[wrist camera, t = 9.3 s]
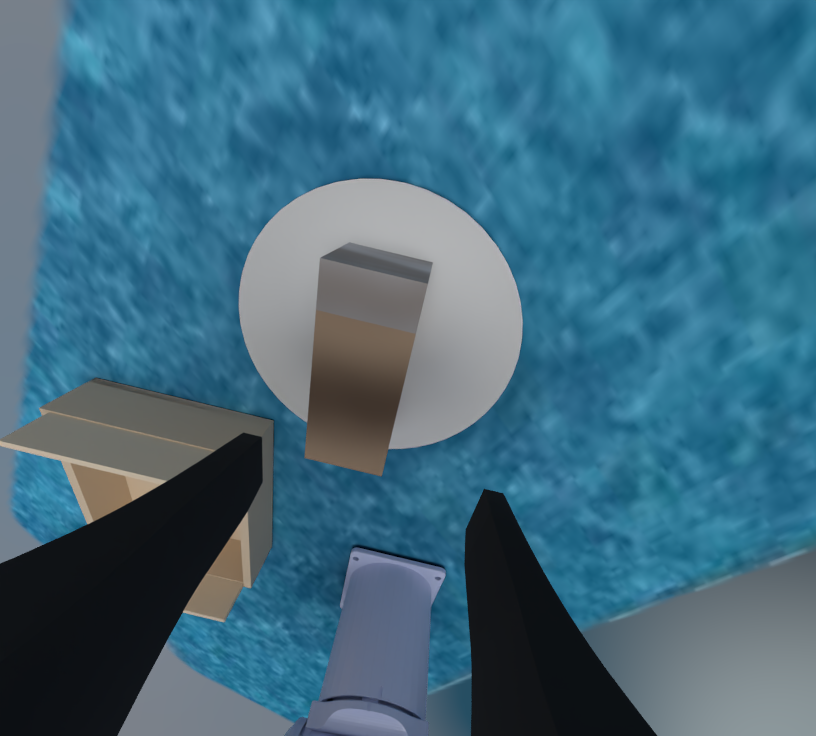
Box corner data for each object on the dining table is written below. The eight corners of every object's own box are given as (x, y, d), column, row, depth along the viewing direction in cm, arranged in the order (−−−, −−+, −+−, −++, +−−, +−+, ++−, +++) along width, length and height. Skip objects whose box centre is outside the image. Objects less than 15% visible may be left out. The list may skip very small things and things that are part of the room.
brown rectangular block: (393, 426, 20) (381, 476, 17) (329, 411, 20) (304, 457, 17) (432, 262, 15) (427, 283, 12) (349, 242, 15) (319, 257, 12)
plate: (470, 463, 22) (471, 472, 21) (250, 410, 22) (243, 417, 21) (570, 222, 15) (576, 224, 14) (242, 143, 15) (231, 141, 14)
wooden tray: (271, 546, 29) (232, 625, 24) (136, 513, 29) (66, 585, 24) (273, 420, 22) (218, 492, 17) (95, 377, 22) (-15, 436, 17)
